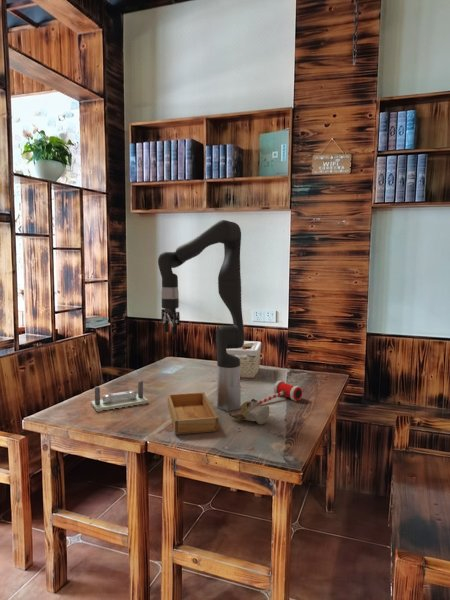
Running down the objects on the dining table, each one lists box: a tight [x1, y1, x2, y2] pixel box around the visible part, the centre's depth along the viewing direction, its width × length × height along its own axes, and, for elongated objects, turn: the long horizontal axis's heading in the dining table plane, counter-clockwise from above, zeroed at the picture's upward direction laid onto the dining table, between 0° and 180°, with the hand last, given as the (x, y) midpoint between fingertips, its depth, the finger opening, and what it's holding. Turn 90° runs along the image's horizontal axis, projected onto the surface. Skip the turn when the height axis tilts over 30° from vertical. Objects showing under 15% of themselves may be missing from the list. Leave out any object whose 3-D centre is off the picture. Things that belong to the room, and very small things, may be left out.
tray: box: [167, 391, 219, 435], centre depth 173 cm, size 31×15×6 cm, turn 12°
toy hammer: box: [257, 380, 304, 405], centre depth 193 cm, size 23×12×6 cm, turn 129°
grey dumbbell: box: [101, 390, 137, 404], centre depth 188 cm, size 14×4×3 cm, turn 119°
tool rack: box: [90, 379, 149, 412], centre depth 188 cm, size 21×10×8 cm, turn 119°
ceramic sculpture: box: [228, 398, 270, 425], centre depth 170 cm, size 11×9×15 cm
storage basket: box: [226, 340, 262, 379], centre depth 237 cm, size 24×16×15 cm
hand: (170, 333), depth 203 cm, fingers open, 8 cm apart
